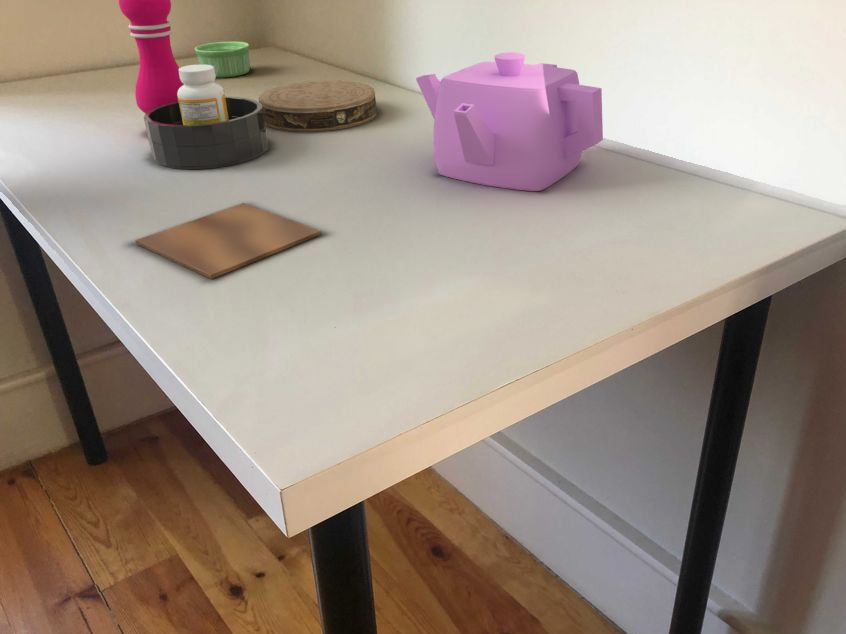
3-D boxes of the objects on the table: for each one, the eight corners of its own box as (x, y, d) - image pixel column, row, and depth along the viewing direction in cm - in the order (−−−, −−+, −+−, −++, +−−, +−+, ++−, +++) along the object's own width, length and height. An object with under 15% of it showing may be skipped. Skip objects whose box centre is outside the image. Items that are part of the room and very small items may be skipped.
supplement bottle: (214, 157, 94) (198, 74, 89) (179, 153, 96) (161, 70, 91) (242, 145, 98) (229, 64, 93) (208, 140, 100) (193, 61, 95)
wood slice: (243, 114, 112) (239, 92, 111) (342, 96, 120) (339, 75, 119) (293, 139, 101) (290, 115, 100) (398, 117, 109) (397, 94, 108)
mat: (211, 279, 66) (210, 275, 66) (136, 244, 73) (135, 240, 73) (321, 234, 74) (320, 230, 74) (244, 206, 81) (243, 202, 81)
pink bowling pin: (203, 135, 104) (170, -34, 93) (145, 142, 101) (104, -31, 91) (197, 121, 109) (166, -39, 99) (142, 128, 107) (104, -36, 97)
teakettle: (609, 184, 84) (618, 63, 78) (454, 203, 80) (450, 77, 74) (552, 140, 98) (555, 34, 92) (418, 154, 94) (412, 45, 88)
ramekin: (239, 65, 142) (234, 39, 139) (262, 72, 136) (258, 45, 133) (191, 73, 137) (185, 46, 135) (213, 81, 131) (208, 53, 129)
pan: (195, 177, 89) (185, 132, 87) (132, 155, 97) (121, 113, 94) (290, 148, 98) (285, 107, 95) (225, 129, 106) (219, 91, 103)
